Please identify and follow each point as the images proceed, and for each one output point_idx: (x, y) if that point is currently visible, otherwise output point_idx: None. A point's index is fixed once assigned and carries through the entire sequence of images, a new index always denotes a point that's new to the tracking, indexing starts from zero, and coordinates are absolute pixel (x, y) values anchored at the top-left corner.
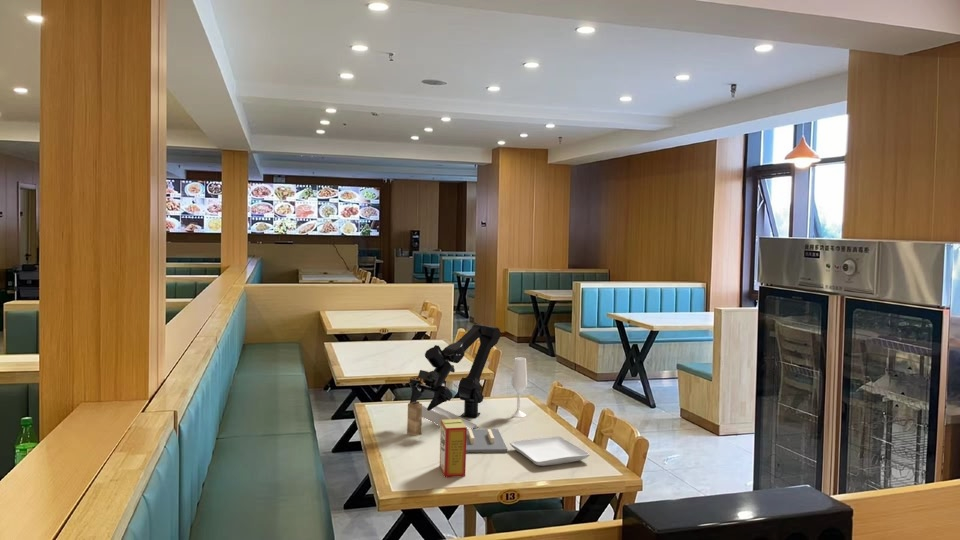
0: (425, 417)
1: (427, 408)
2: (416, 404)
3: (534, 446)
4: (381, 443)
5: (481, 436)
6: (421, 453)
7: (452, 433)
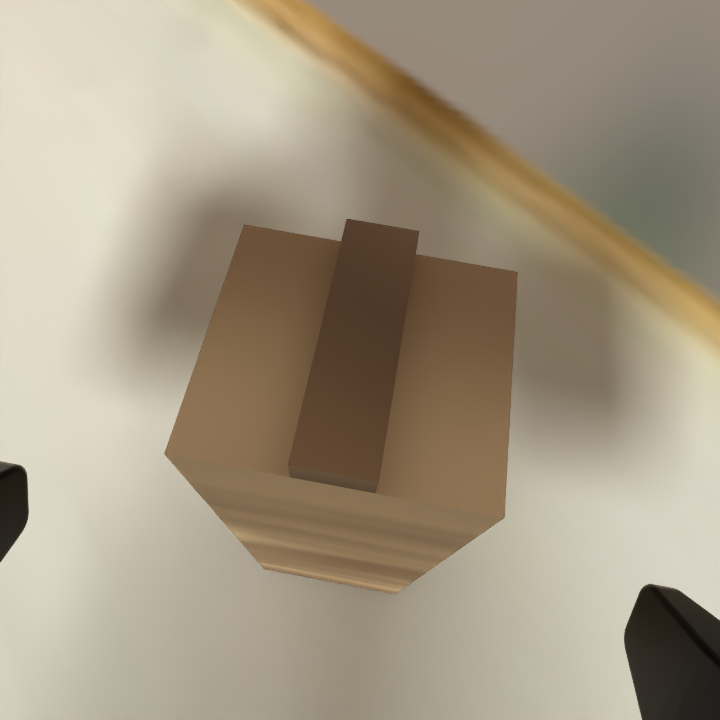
0: None
1: (1, 468)
2: (281, 316)
3: None
4: (424, 167)
5: None
6: (22, 145)
7: None
